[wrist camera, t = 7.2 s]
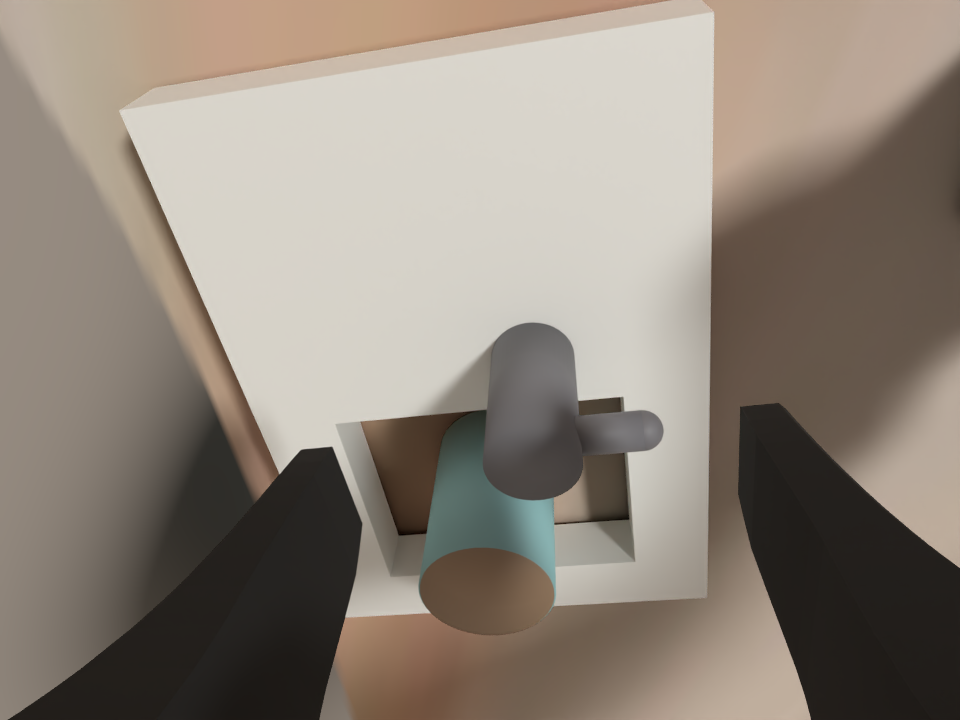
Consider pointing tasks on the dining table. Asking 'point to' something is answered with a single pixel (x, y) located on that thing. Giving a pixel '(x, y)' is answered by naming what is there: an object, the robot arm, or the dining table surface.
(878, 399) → the dining table surface
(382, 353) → the white box with opening
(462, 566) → the cylinder
